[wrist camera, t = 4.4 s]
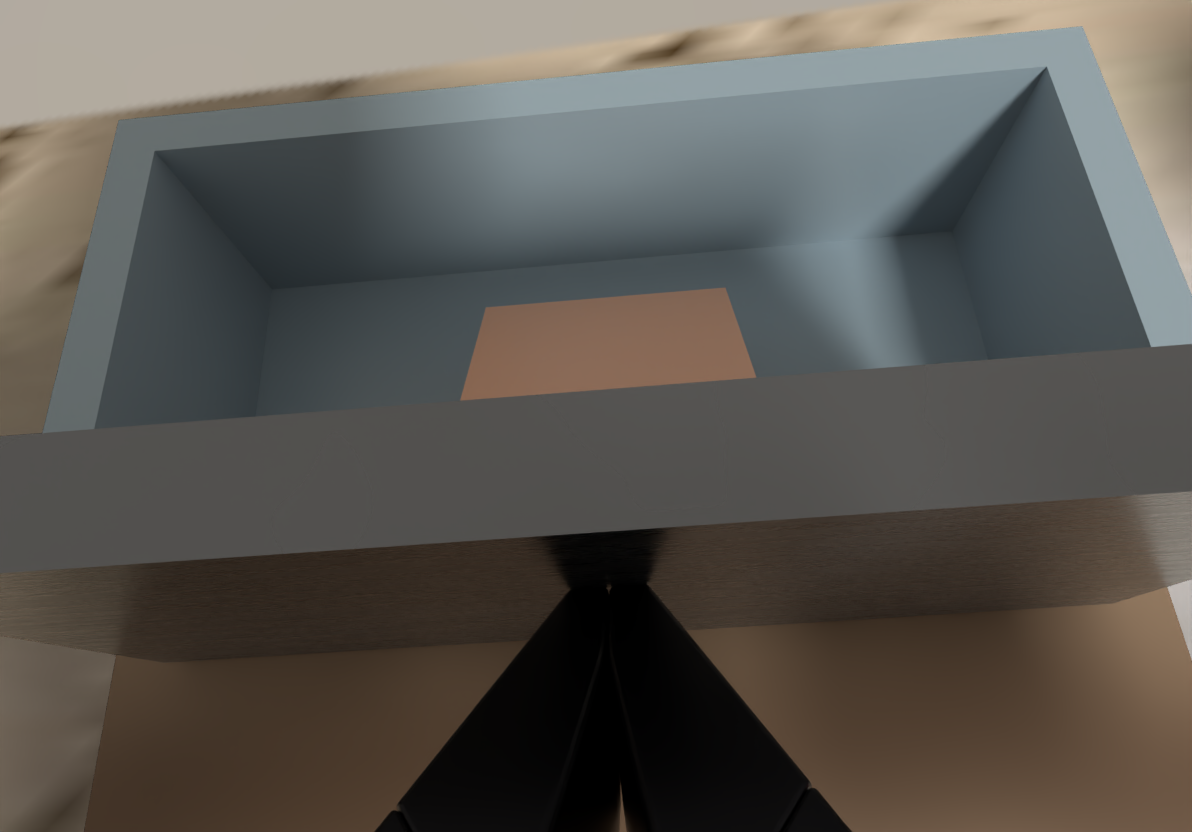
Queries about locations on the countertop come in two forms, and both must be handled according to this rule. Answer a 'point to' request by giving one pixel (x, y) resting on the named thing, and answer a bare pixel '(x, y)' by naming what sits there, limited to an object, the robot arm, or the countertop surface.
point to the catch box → (619, 226)
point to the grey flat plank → (607, 508)
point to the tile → (607, 344)
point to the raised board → (757, 673)
